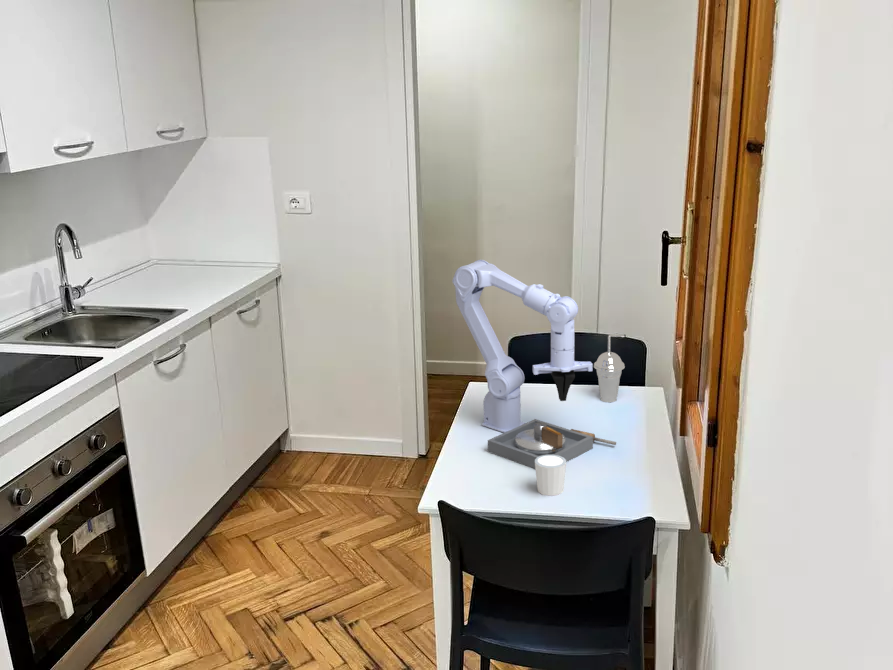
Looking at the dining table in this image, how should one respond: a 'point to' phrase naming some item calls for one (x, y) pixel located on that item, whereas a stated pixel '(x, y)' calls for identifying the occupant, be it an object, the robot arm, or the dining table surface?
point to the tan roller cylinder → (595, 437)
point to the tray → (507, 449)
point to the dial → (540, 440)
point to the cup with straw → (609, 373)
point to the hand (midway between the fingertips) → (562, 399)
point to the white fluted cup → (550, 474)
